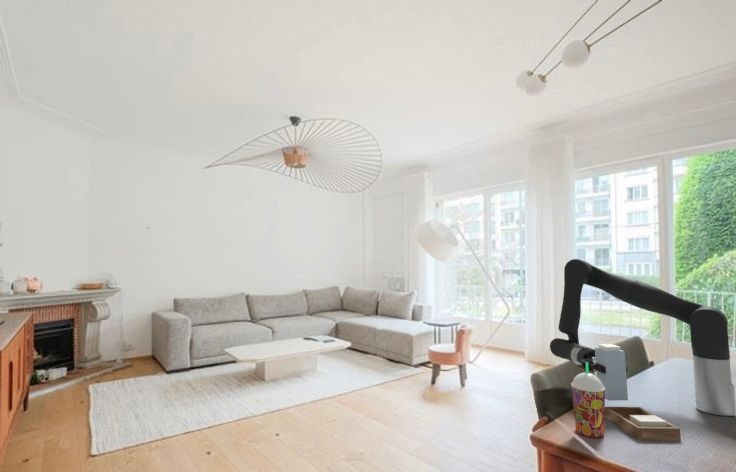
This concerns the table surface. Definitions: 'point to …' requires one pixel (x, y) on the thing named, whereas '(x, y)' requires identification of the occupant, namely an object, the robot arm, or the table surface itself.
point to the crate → (622, 420)
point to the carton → (612, 371)
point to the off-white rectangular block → (648, 421)
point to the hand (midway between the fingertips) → (615, 370)
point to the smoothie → (588, 404)
